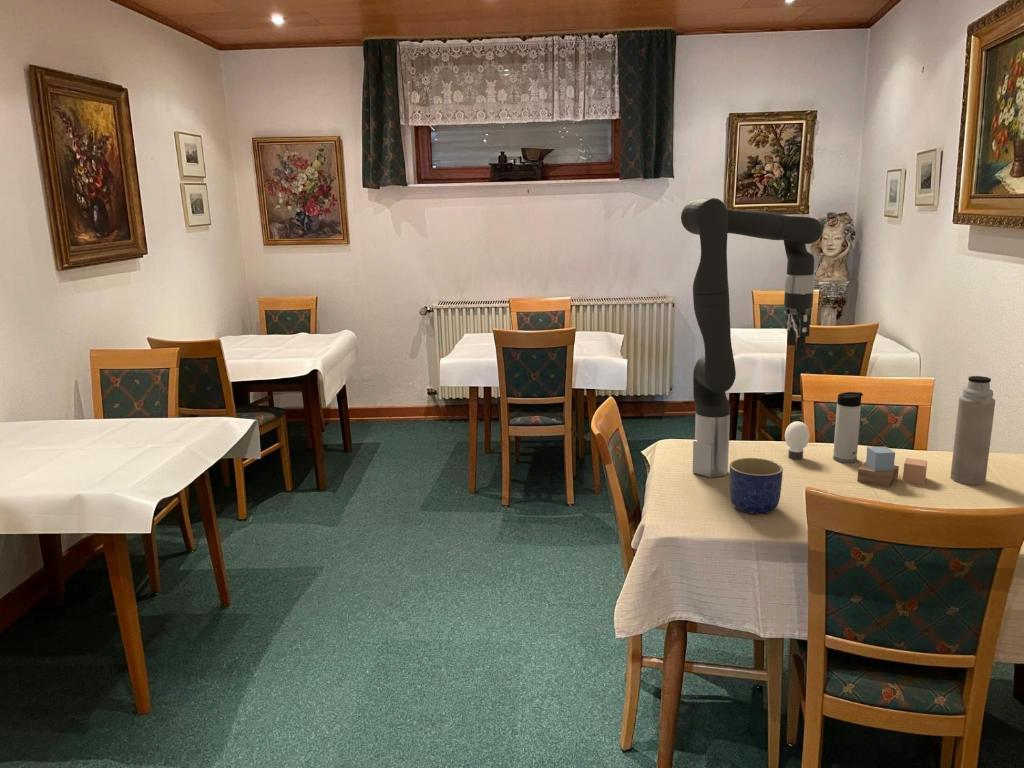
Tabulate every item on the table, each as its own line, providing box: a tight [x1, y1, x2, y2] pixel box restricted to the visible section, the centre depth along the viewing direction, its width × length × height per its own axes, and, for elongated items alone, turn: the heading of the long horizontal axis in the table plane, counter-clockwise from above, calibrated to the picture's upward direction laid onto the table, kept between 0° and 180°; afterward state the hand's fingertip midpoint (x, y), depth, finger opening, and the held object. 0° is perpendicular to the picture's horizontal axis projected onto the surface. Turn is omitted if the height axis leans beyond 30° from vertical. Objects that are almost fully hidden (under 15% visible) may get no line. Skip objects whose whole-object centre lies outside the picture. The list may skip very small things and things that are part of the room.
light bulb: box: [784, 420, 811, 460], centre depth 216 cm, size 7×7×11 cm
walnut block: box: [857, 461, 900, 489], centre depth 197 cm, size 8×8×4 cm
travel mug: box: [832, 391, 864, 464], centre depth 212 cm, size 6×7×20 cm
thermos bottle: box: [949, 375, 996, 486], centre depth 192 cm, size 8×8×28 cm
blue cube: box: [865, 446, 896, 471], centre depth 196 cm, size 5×5×5 cm
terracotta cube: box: [902, 457, 928, 485], centre depth 197 cm, size 5×5×5 cm
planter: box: [729, 457, 784, 515], centre depth 182 cm, size 12×12×11 cm
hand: (795, 348), depth 209 cm, fingers open, 8 cm apart
